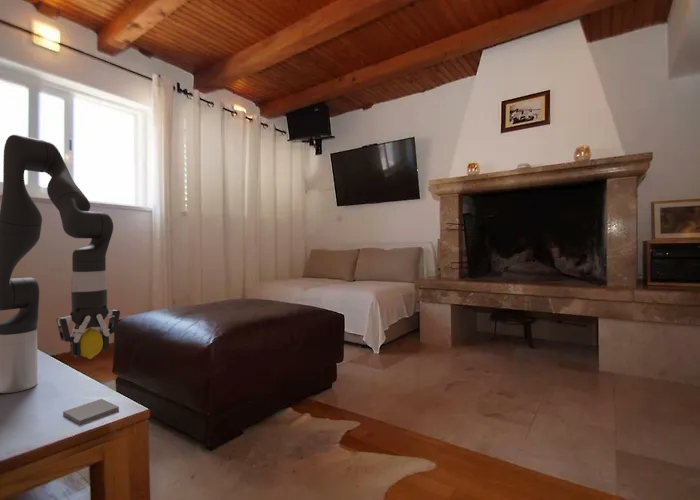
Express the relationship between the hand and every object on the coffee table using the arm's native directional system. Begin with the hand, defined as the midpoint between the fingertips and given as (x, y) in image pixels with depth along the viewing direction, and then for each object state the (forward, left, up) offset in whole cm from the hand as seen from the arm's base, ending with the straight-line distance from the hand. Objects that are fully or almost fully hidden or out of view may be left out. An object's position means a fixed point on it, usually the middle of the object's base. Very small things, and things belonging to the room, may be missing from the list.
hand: (90, 353), depth 95 cm
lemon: (0, 0, -2) cm, 2 cm away
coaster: (0, 0, -16) cm, 16 cm away
